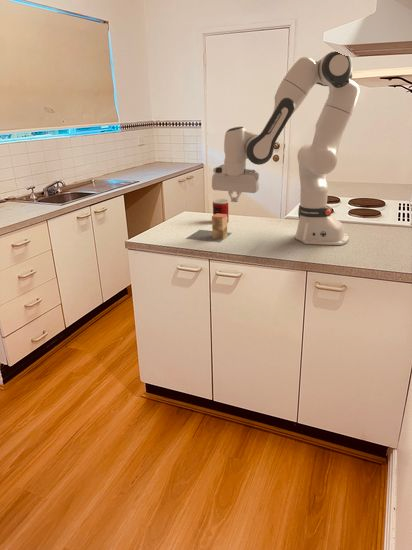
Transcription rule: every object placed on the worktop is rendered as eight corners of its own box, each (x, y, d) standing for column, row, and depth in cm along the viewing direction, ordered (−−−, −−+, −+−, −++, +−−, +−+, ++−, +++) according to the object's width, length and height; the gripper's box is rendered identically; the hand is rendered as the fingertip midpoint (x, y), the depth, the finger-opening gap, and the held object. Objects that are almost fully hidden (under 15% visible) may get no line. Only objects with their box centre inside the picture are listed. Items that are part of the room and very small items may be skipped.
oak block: (227, 235, 185) (226, 214, 181) (222, 239, 181) (222, 217, 177) (217, 234, 188) (216, 213, 184) (212, 237, 183) (211, 216, 179)
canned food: (229, 220, 211) (228, 198, 206) (228, 224, 204) (227, 202, 199) (214, 220, 212) (213, 199, 207) (213, 224, 204) (212, 203, 200)
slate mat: (232, 234, 189) (232, 232, 189) (219, 243, 178) (219, 242, 177) (199, 230, 196) (199, 229, 196) (185, 239, 185) (185, 238, 185)
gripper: (261, 168, 167) (260, 202, 173) (216, 166, 176) (216, 198, 181) (256, 171, 162) (255, 205, 168) (209, 168, 171) (210, 201, 176)
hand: (234, 201), depth 174 cm, fingers closed
